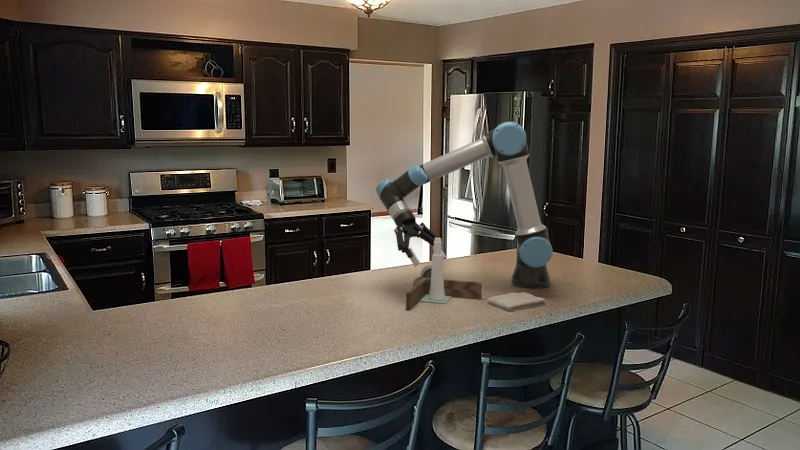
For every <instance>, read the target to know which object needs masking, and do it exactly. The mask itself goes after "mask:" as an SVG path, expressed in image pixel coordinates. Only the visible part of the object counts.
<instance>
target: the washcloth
mask: <svg viewBox="0 0 800 450" xmlns="http://www.w3.org/2000/svg"><path fill="white" fill-rule="evenodd" d="M486 301H487V304H489V305H491V306H493V307H497V308H499V309H501V310H504V311H507V312H514V311H519V310H524V309H525V310H526V309H530V308H534V307H541V306H546V298H544V297H539V296H535V295H533V294H531V293H528V292H523V291H522V292H510V293H506V294H500V295H495V296H491V297H489V298H488V299H487V300H486Z"/></svg>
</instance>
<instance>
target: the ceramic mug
mask: <svg viewBox="0 0 800 450" xmlns="http://www.w3.org/2000/svg"><path fill="white" fill-rule="evenodd" d="M431 271H432V265H426V266H424V267H423V268H422V270H421V271H420V275H419V277H416V278H415V279H414V280H413V286H414V285H415V284H417V283H418V282H419V281H420V280H421V279H422V278H431Z"/></svg>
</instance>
